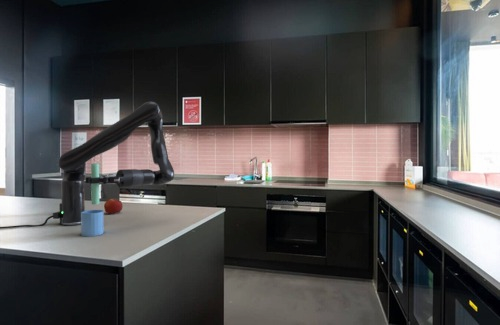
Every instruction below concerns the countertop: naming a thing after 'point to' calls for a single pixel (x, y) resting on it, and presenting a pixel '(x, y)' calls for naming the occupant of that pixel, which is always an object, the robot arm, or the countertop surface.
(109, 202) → the tomato
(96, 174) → the mint green tapered cylinder
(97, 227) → the cup
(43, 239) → the countertop surface
